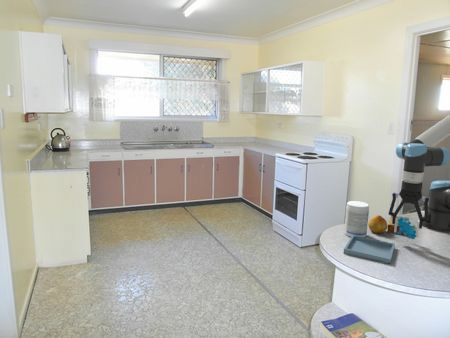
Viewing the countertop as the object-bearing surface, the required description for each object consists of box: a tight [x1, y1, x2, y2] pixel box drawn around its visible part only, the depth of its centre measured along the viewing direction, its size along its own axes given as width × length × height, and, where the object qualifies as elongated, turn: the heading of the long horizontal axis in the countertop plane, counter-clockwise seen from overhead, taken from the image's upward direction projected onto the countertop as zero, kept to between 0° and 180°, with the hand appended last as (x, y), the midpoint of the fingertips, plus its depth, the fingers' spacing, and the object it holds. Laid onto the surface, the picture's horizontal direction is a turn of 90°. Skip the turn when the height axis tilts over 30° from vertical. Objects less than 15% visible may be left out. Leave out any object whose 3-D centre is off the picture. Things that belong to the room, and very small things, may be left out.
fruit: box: [367, 215, 388, 234], centre depth 166 cm, size 8×8×8 cm
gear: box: [397, 216, 417, 240], centre depth 152 cm, size 11×6×10 cm
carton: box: [386, 215, 410, 236], centre depth 171 cm, size 8×16×4 cm, turn 150°
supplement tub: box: [344, 200, 370, 238], centre depth 160 cm, size 10×10×15 cm
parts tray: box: [343, 235, 396, 265], centre depth 145 cm, size 17×17×2 cm
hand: (405, 233), depth 151 cm, fingers closed on gear, 7 cm apart
